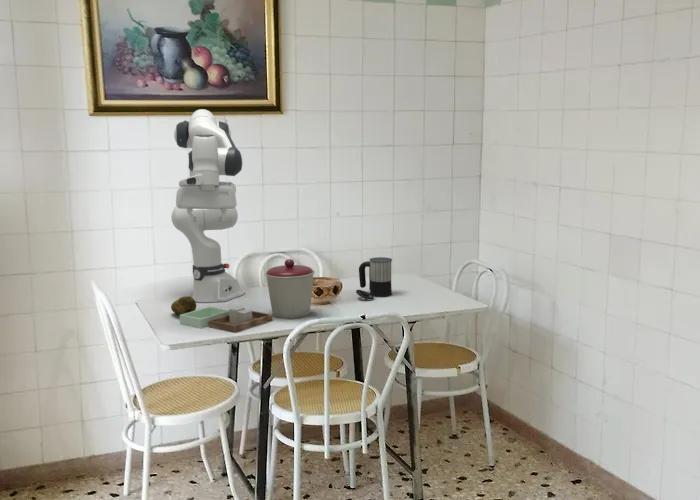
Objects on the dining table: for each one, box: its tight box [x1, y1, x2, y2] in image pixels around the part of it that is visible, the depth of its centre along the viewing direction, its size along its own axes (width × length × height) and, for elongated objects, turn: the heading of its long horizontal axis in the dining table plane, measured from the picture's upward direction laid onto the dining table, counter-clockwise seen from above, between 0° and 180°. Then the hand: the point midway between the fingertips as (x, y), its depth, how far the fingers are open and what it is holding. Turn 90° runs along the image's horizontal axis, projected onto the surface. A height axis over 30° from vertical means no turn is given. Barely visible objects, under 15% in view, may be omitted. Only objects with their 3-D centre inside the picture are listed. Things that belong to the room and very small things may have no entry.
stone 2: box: [236, 309, 253, 325], centre depth 253 cm, size 4×4×5 cm
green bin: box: [179, 306, 229, 329], centre depth 259 cm, size 14×11×4 cm
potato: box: [170, 295, 197, 316], centre depth 270 cm, size 8×13×8 cm, turn 21°
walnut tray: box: [208, 309, 274, 334], centre depth 255 cm, size 18×13×3 cm
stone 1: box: [228, 306, 246, 324], centre depth 257 cm, size 4×4×5 cm
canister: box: [264, 258, 316, 320], centre depth 265 cm, size 18×18×21 cm
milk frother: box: [355, 256, 393, 301], centre depth 293 cm, size 14×16×15 cm
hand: (207, 222), depth 248 cm, fingers open, 8 cm apart
